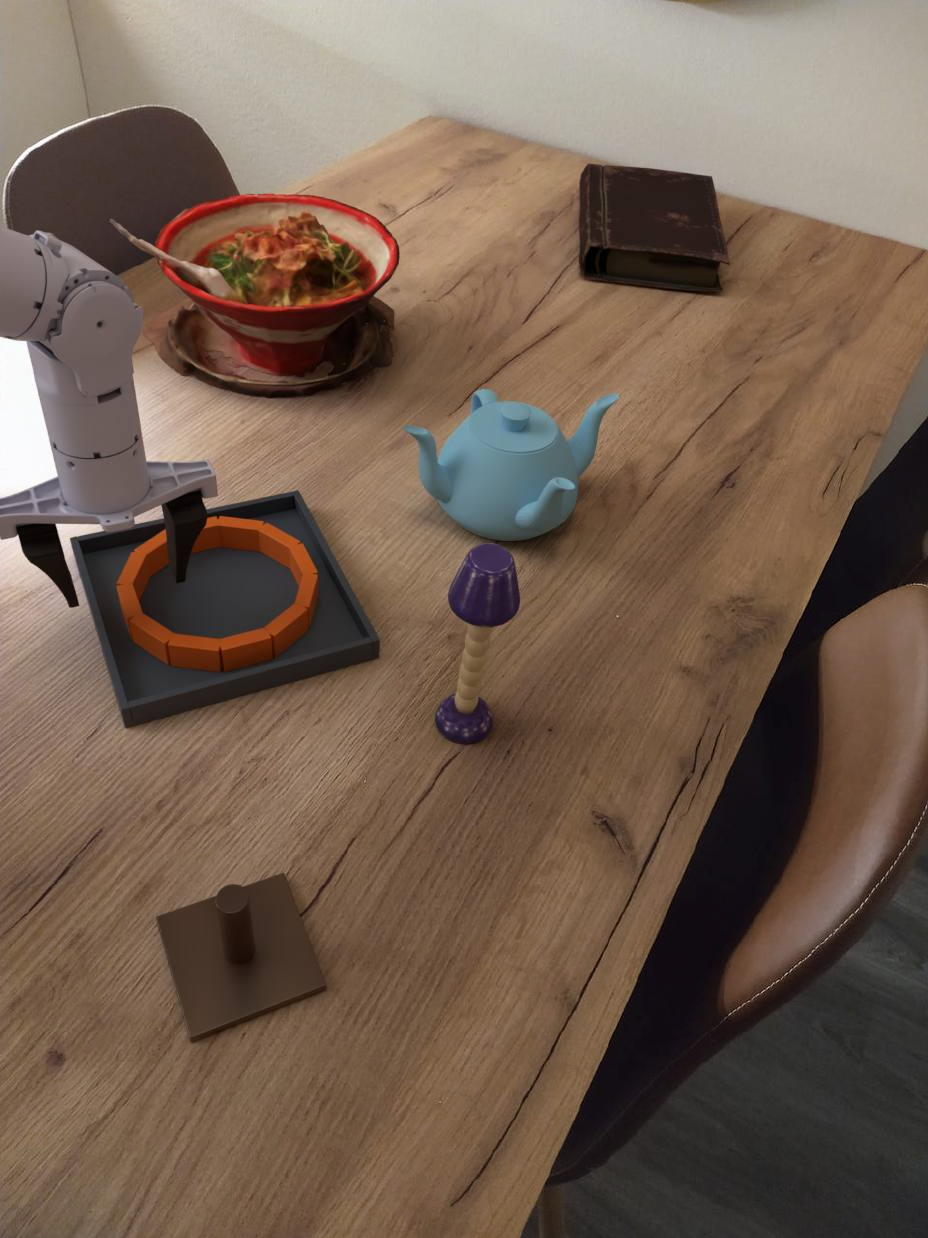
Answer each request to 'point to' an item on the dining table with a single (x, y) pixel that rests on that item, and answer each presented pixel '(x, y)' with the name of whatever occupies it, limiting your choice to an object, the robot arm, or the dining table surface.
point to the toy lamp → (477, 636)
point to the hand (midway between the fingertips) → (125, 585)
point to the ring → (232, 648)
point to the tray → (220, 611)
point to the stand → (239, 955)
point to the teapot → (508, 467)
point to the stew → (275, 291)
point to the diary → (650, 228)
